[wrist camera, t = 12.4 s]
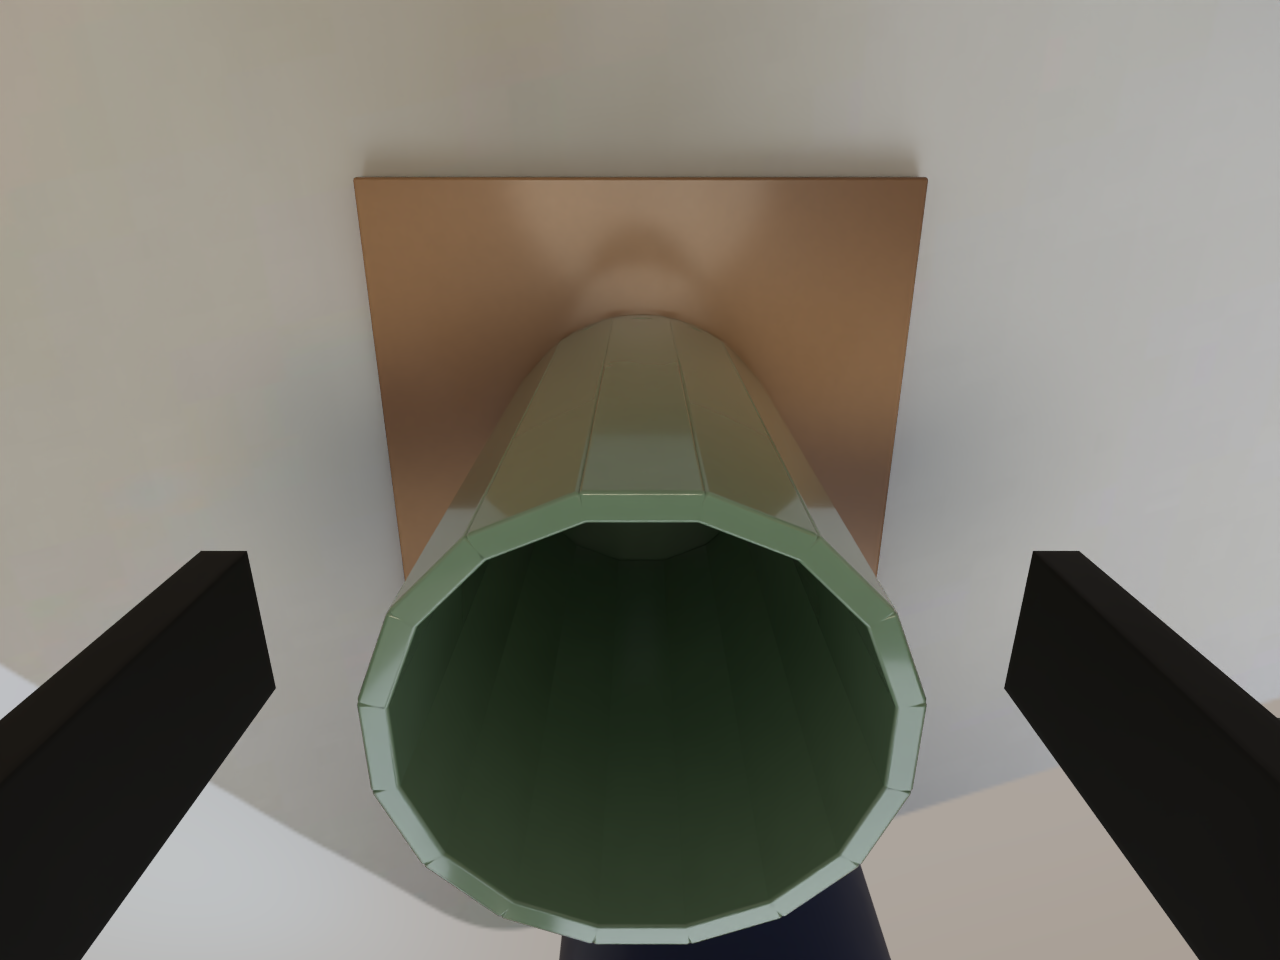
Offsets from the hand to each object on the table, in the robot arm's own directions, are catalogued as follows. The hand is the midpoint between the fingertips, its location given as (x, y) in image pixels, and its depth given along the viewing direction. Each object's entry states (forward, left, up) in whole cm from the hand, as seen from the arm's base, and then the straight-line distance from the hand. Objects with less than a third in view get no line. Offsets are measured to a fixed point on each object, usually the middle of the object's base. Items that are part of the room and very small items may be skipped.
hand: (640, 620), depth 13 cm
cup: (0, 0, -9) cm, 9 cm away
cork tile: (0, 0, -9) cm, 9 cm away
